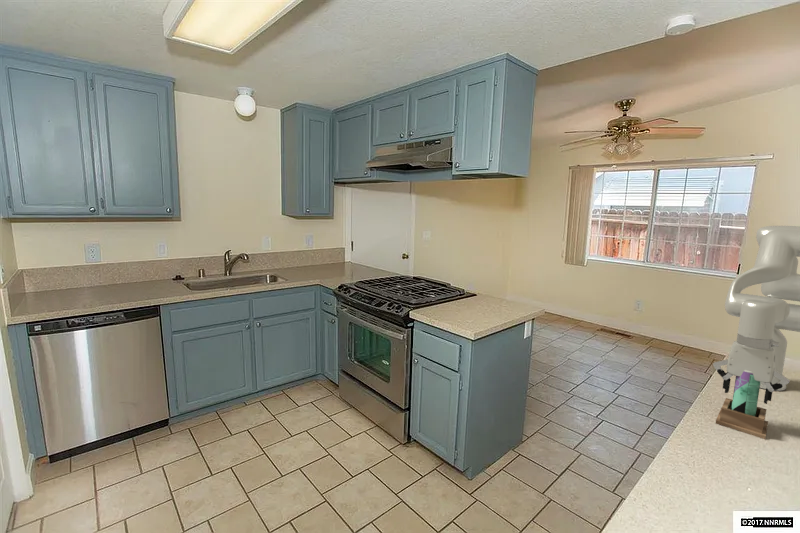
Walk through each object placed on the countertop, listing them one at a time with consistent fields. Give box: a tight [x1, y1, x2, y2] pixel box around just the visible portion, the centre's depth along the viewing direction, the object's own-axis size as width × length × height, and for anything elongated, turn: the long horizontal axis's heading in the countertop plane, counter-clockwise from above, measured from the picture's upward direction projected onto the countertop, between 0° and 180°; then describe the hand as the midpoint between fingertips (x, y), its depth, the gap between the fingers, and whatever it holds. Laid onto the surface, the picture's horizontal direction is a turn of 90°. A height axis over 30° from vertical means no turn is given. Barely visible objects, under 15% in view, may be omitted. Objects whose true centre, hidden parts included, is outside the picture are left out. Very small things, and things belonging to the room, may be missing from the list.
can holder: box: [715, 397, 769, 440], centre depth 114 cm, size 11×11×5 cm
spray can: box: [731, 370, 761, 417], centre depth 113 cm, size 6×6×20 cm
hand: (745, 396), depth 113 cm, fingers open, 8 cm apart
